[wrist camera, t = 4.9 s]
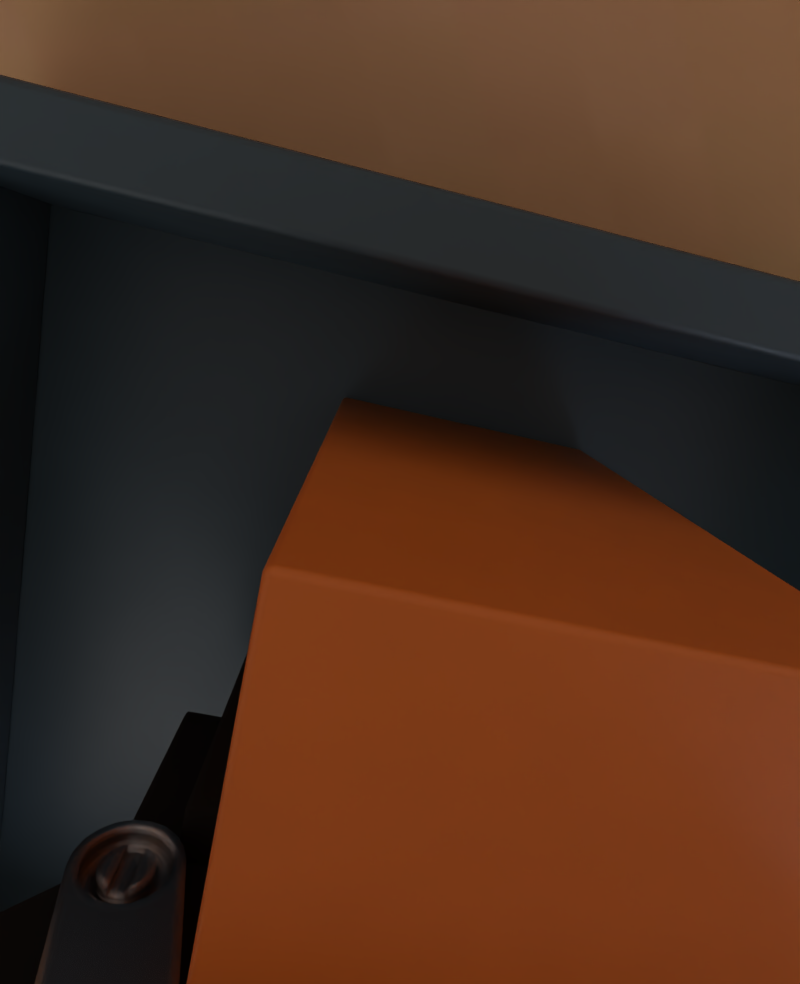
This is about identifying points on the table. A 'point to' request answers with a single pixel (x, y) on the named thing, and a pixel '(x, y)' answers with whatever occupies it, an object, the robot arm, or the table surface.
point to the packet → (505, 731)
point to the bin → (298, 407)
